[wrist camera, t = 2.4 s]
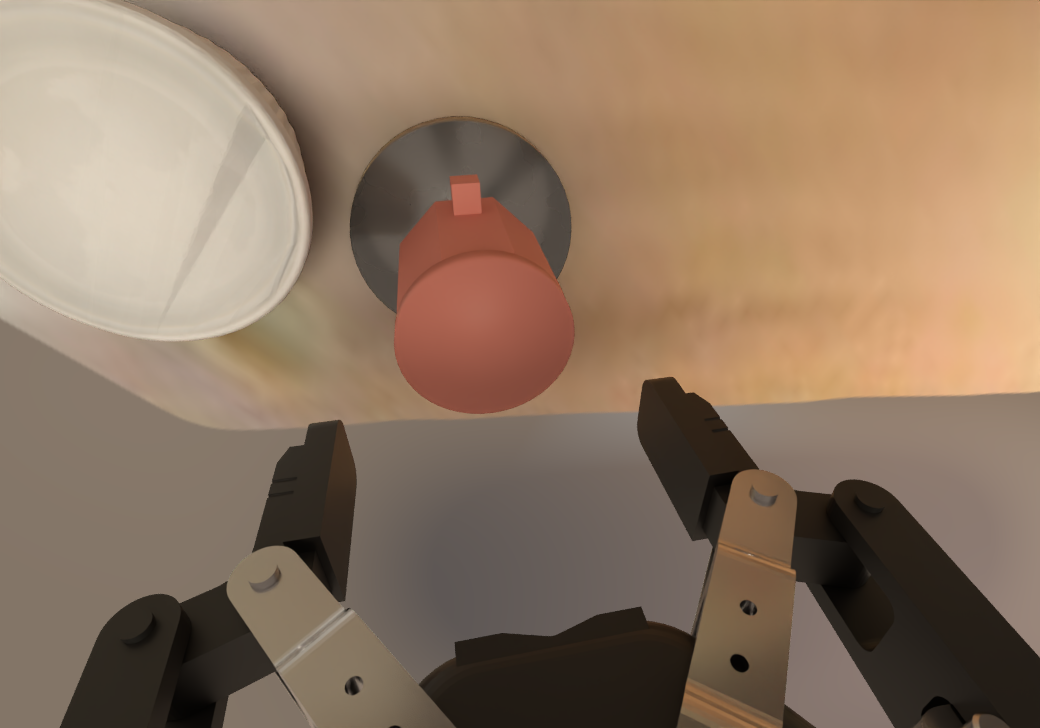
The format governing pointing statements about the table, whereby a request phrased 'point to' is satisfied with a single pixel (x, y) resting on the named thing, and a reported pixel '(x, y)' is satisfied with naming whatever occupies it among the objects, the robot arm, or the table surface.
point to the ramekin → (143, 174)
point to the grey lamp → (425, 179)
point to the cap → (478, 307)
